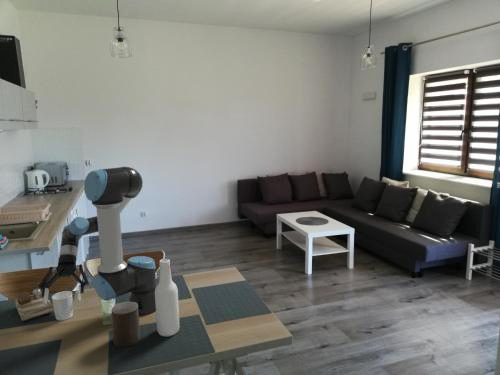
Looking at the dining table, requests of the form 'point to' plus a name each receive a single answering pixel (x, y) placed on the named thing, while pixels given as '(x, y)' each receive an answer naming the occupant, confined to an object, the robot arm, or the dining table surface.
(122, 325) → the pillar candle
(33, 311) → the wooden tray
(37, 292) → the metal stub
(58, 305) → the white cup
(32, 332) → the dining table surface
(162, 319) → the alcohol
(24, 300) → the walnut block
